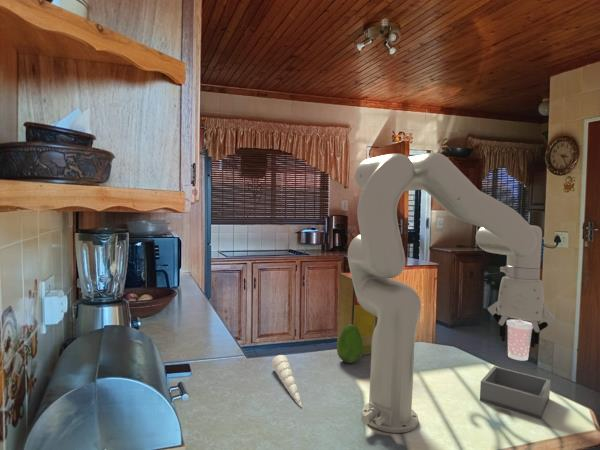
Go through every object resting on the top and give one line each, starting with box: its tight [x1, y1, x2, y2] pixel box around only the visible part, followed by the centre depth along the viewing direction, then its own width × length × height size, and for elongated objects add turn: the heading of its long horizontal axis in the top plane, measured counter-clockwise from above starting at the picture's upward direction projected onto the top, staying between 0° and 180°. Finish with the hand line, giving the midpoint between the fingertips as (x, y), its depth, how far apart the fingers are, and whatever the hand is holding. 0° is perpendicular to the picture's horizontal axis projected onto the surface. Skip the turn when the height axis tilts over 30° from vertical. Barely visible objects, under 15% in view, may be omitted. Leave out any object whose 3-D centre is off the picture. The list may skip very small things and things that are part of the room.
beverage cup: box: [506, 319, 534, 362], centre depth 105 cm, size 6×6×14 cm
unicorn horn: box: [271, 354, 303, 408], centre depth 109 cm, size 5×24×5 cm, turn 12°
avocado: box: [336, 324, 363, 364], centre depth 127 cm, size 8×8×12 cm
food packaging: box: [336, 272, 377, 356], centre depth 139 cm, size 13×9×25 cm
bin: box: [479, 365, 551, 420], centre depth 106 cm, size 14×14×5 cm
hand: (518, 342), depth 105 cm, fingers closed on beverage cup, 6 cm apart
